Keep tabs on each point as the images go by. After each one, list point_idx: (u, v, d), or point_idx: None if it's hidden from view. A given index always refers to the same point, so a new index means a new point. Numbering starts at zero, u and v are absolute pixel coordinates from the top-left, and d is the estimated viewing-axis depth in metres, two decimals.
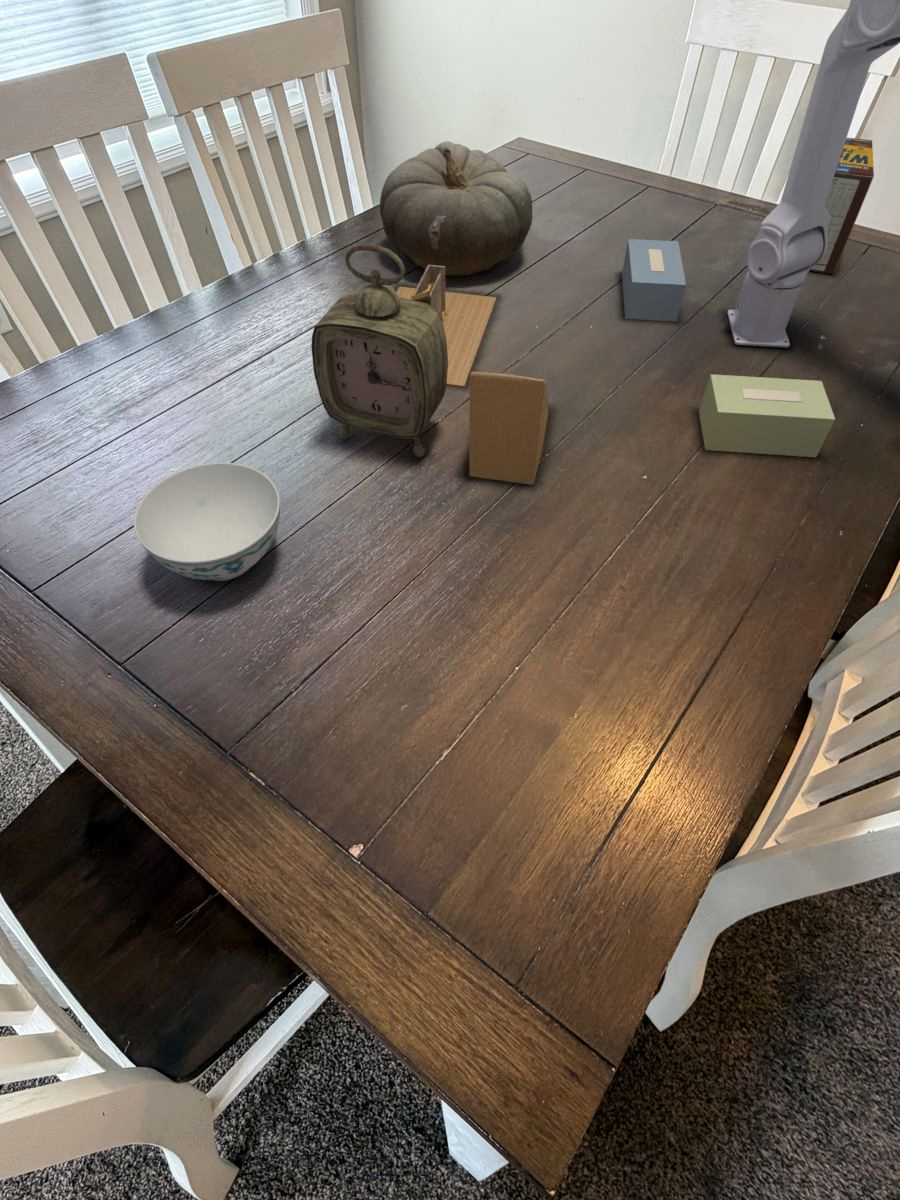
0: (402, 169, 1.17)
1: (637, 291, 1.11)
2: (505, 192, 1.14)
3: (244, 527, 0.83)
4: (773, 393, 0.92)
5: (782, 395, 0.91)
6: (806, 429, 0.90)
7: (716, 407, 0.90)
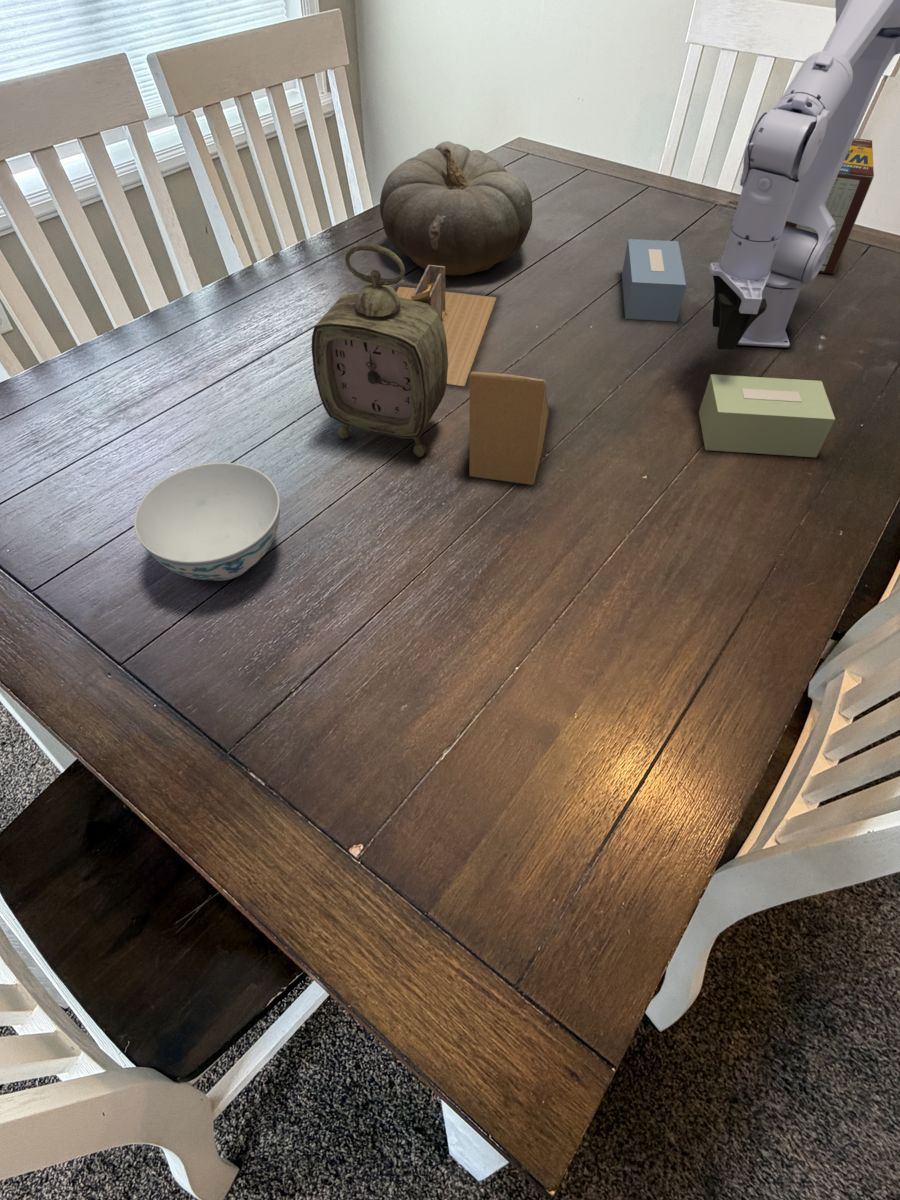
0: (402, 169, 1.17)
1: (637, 291, 1.11)
2: (505, 192, 1.14)
3: (244, 527, 0.83)
4: (773, 393, 0.92)
5: (782, 395, 0.91)
6: (806, 429, 0.90)
7: (716, 407, 0.90)
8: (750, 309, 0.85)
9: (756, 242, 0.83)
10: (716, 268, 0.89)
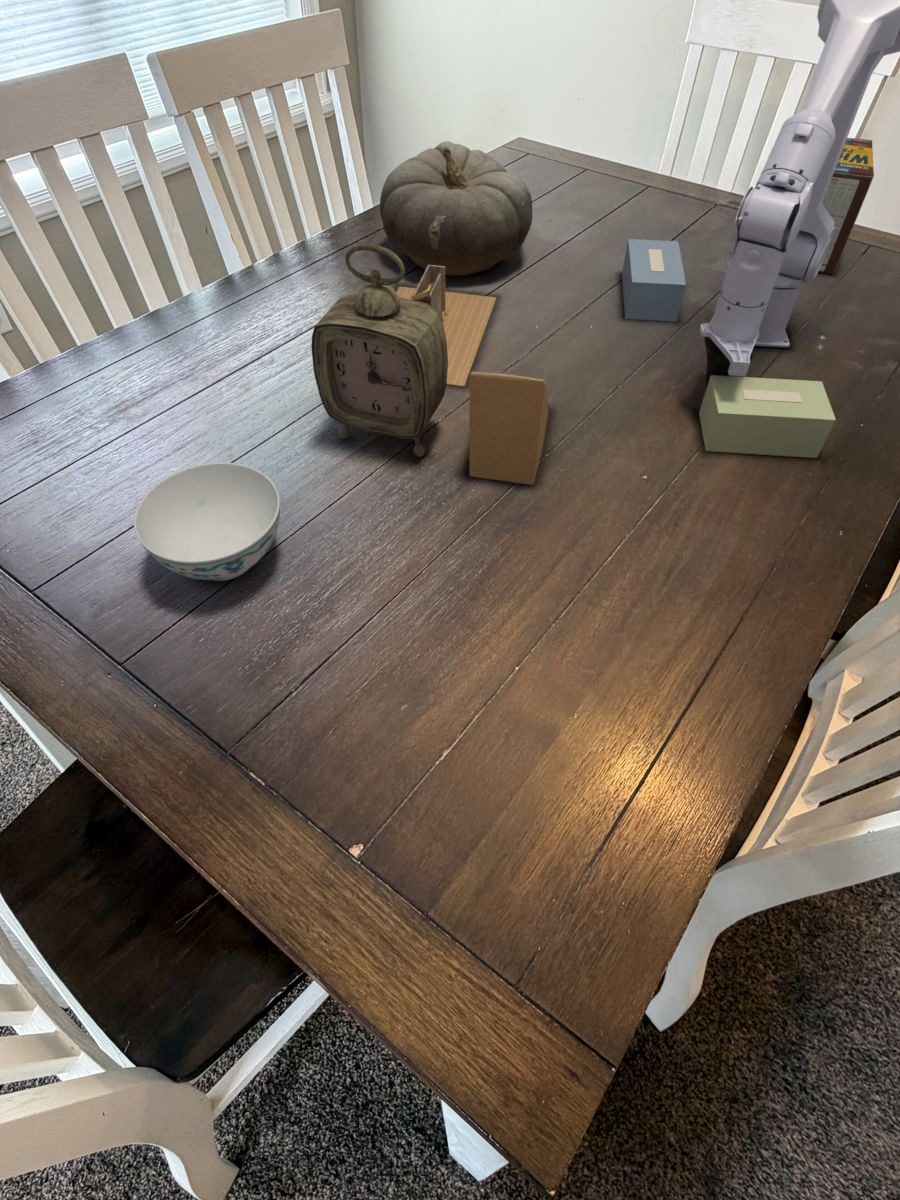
0: (402, 169, 1.17)
1: (637, 291, 1.11)
2: (505, 192, 1.14)
3: (244, 527, 0.83)
4: (773, 394, 0.92)
5: (782, 396, 0.91)
6: (807, 430, 0.90)
7: (716, 408, 0.90)
8: (739, 371, 0.87)
9: (744, 307, 0.86)
10: (706, 329, 0.91)
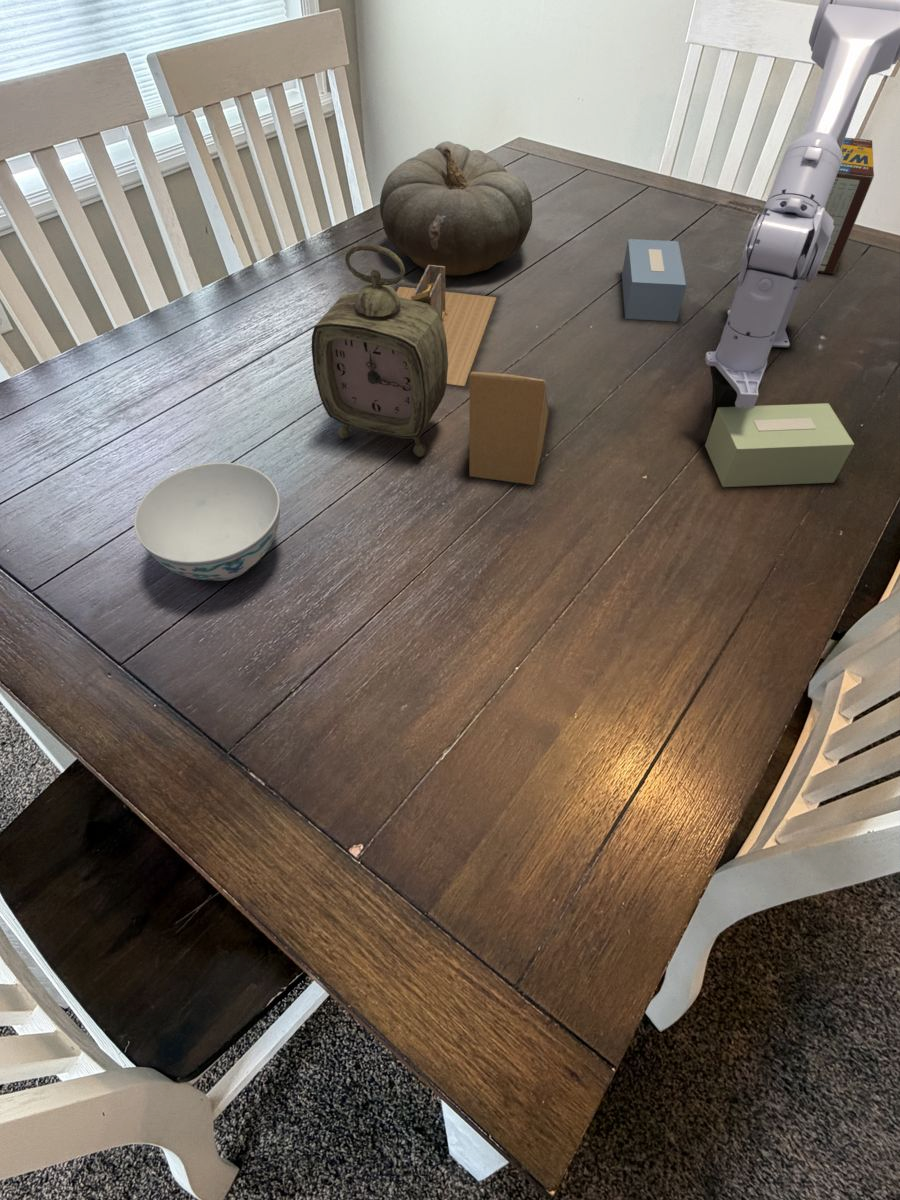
0: (402, 169, 1.17)
1: (637, 291, 1.11)
2: (505, 192, 1.14)
3: (244, 527, 0.83)
4: (786, 422, 0.88)
5: (795, 423, 0.88)
6: (825, 457, 0.87)
7: (733, 444, 0.86)
8: (746, 404, 0.83)
9: (752, 337, 0.82)
10: (712, 358, 0.87)
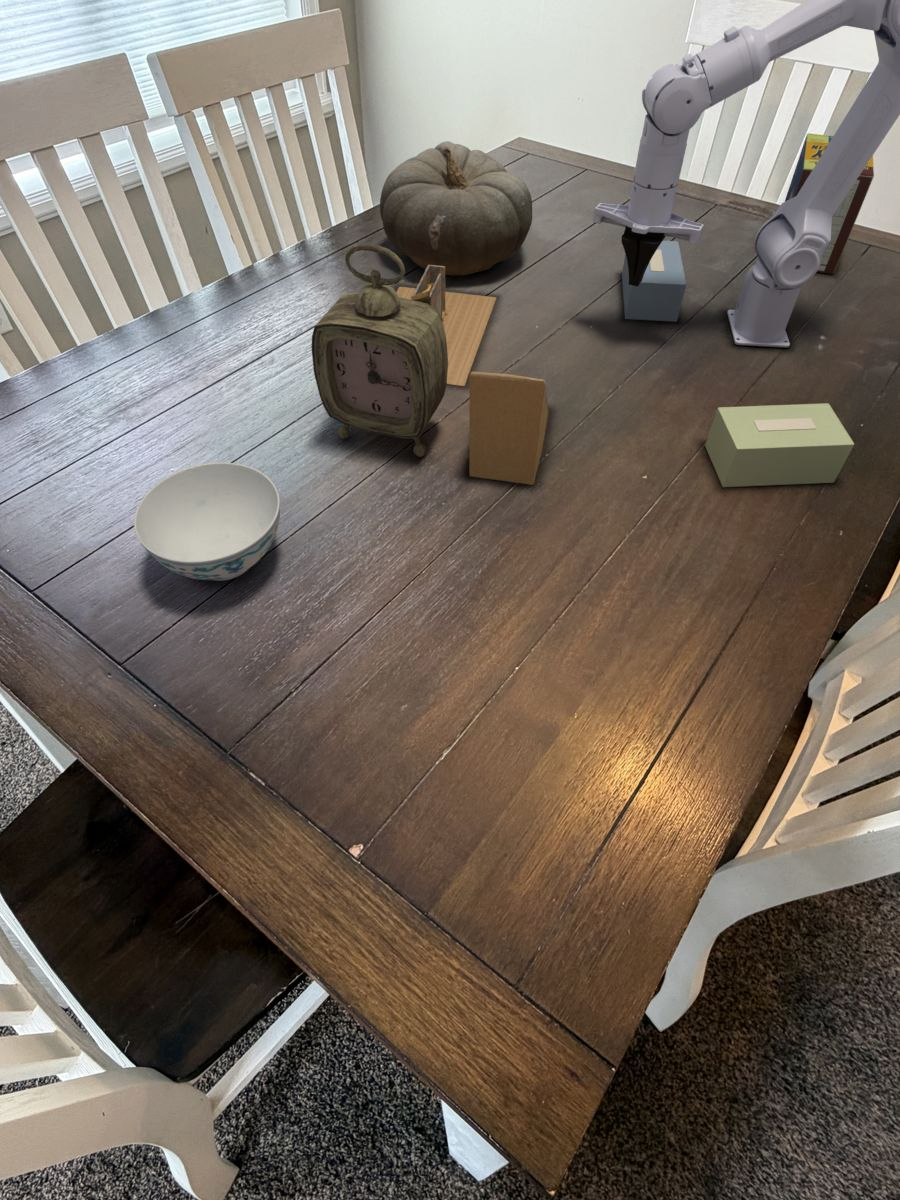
0: (402, 169, 1.17)
1: (637, 291, 1.11)
2: (505, 192, 1.14)
3: (244, 527, 0.83)
4: (786, 422, 0.88)
5: (795, 423, 0.88)
6: (825, 457, 0.87)
7: (733, 444, 0.86)
8: (699, 237, 0.96)
9: (676, 186, 0.93)
10: (644, 227, 0.95)
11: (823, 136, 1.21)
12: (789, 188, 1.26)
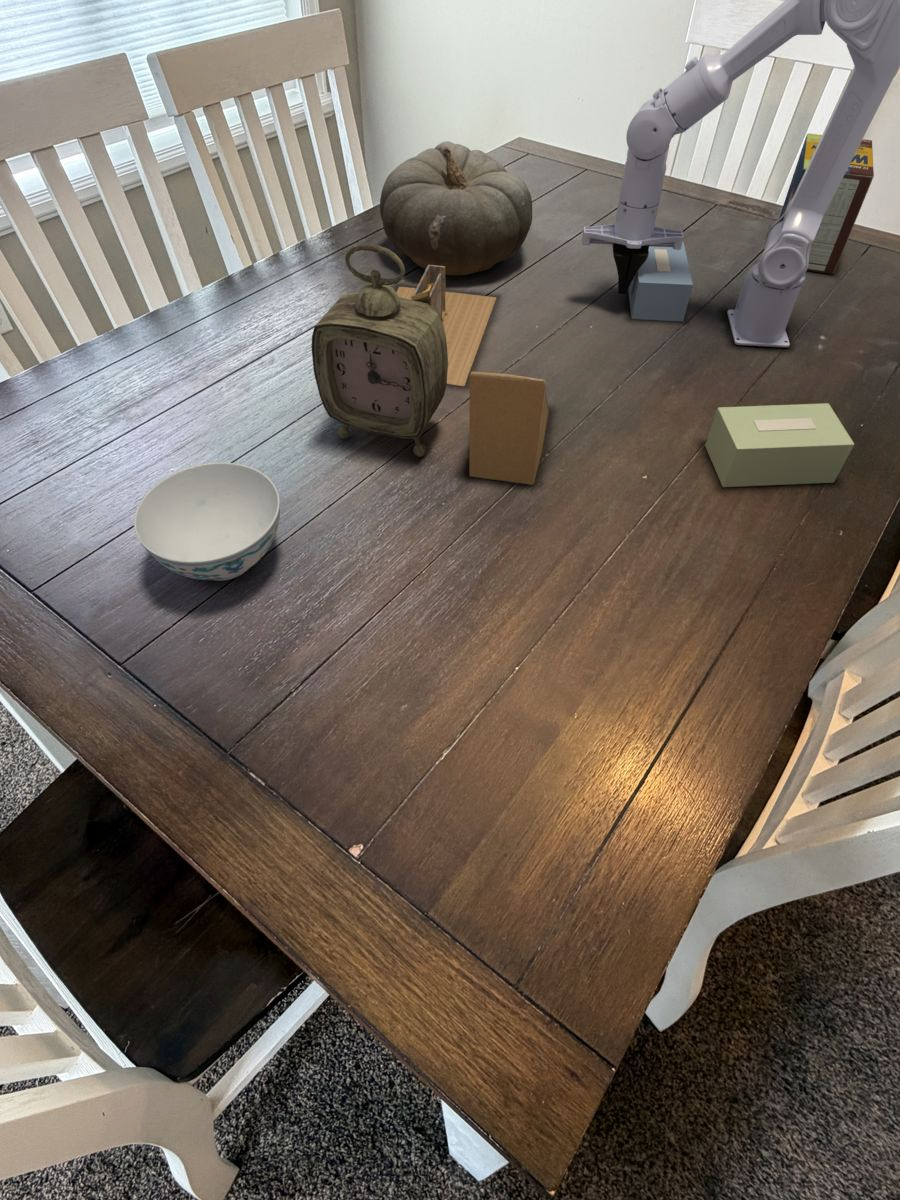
0: (402, 169, 1.17)
1: (644, 292, 1.11)
2: (505, 192, 1.14)
3: (244, 527, 0.83)
4: (786, 422, 0.88)
5: (795, 423, 0.88)
6: (825, 457, 0.87)
7: (733, 444, 0.86)
8: None
9: None
10: (637, 242, 1.06)
11: None
12: (789, 188, 1.26)
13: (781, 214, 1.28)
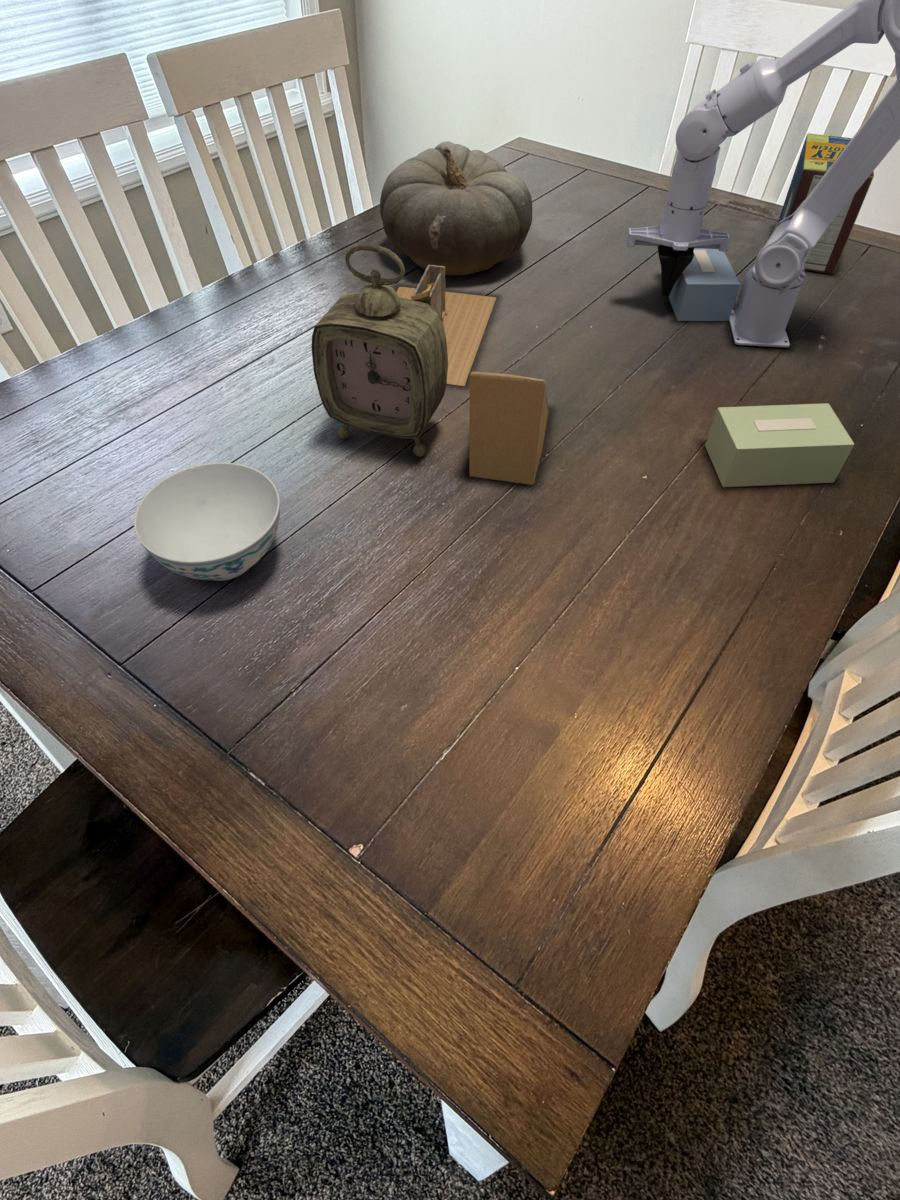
0: (402, 169, 1.17)
1: (691, 293, 1.10)
2: (505, 192, 1.14)
3: (244, 527, 0.83)
4: (786, 422, 0.88)
5: (795, 423, 0.88)
6: (825, 457, 0.87)
7: (733, 444, 0.86)
8: None
9: (706, 204, 1.03)
10: (684, 244, 1.05)
11: (823, 136, 1.21)
12: (789, 188, 1.26)
13: (781, 214, 1.28)
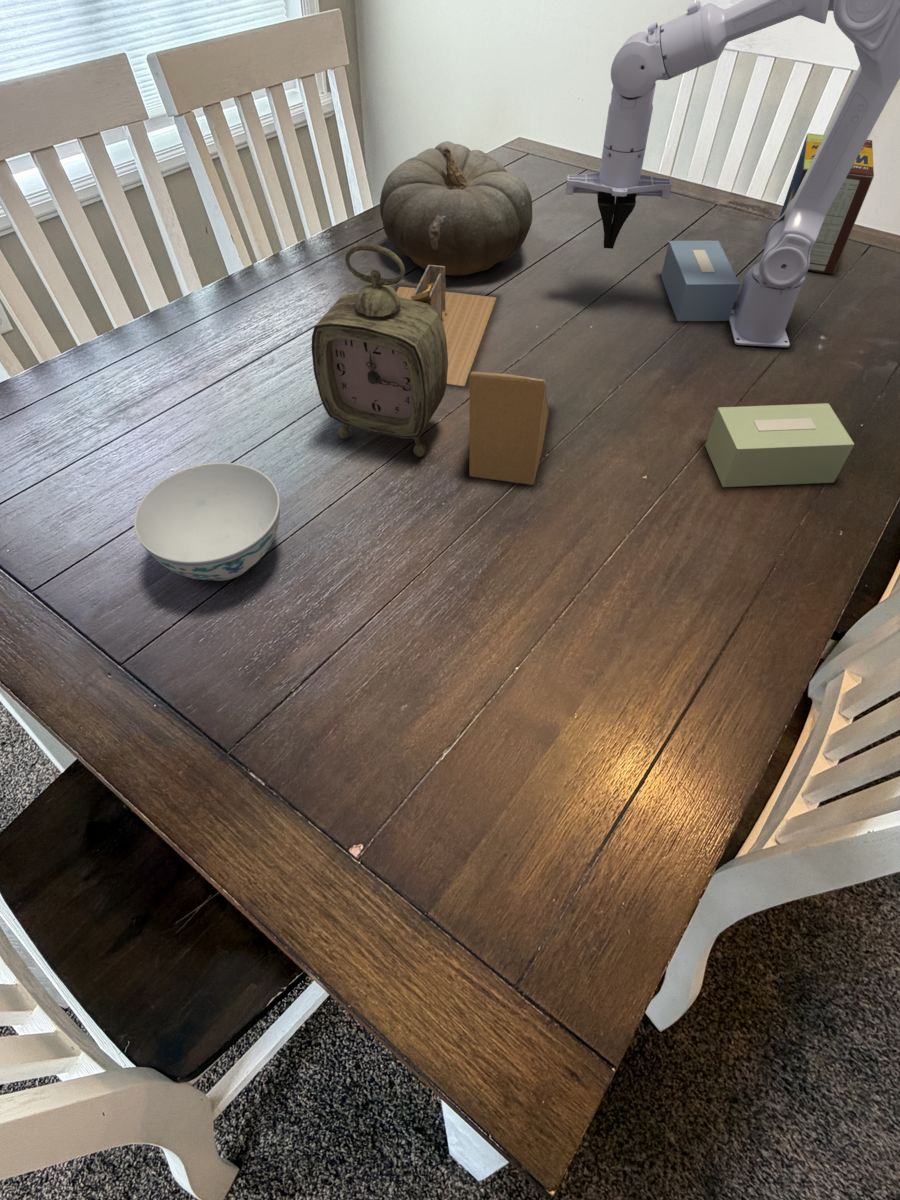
0: (402, 169, 1.17)
1: (691, 293, 1.10)
2: (505, 192, 1.14)
3: (244, 527, 0.83)
4: (786, 422, 0.88)
5: (795, 423, 0.88)
6: (825, 457, 0.87)
7: (733, 444, 0.86)
8: None
9: (645, 147, 0.99)
10: (623, 189, 1.00)
11: (823, 136, 1.21)
12: (789, 188, 1.26)
13: (781, 214, 1.28)
